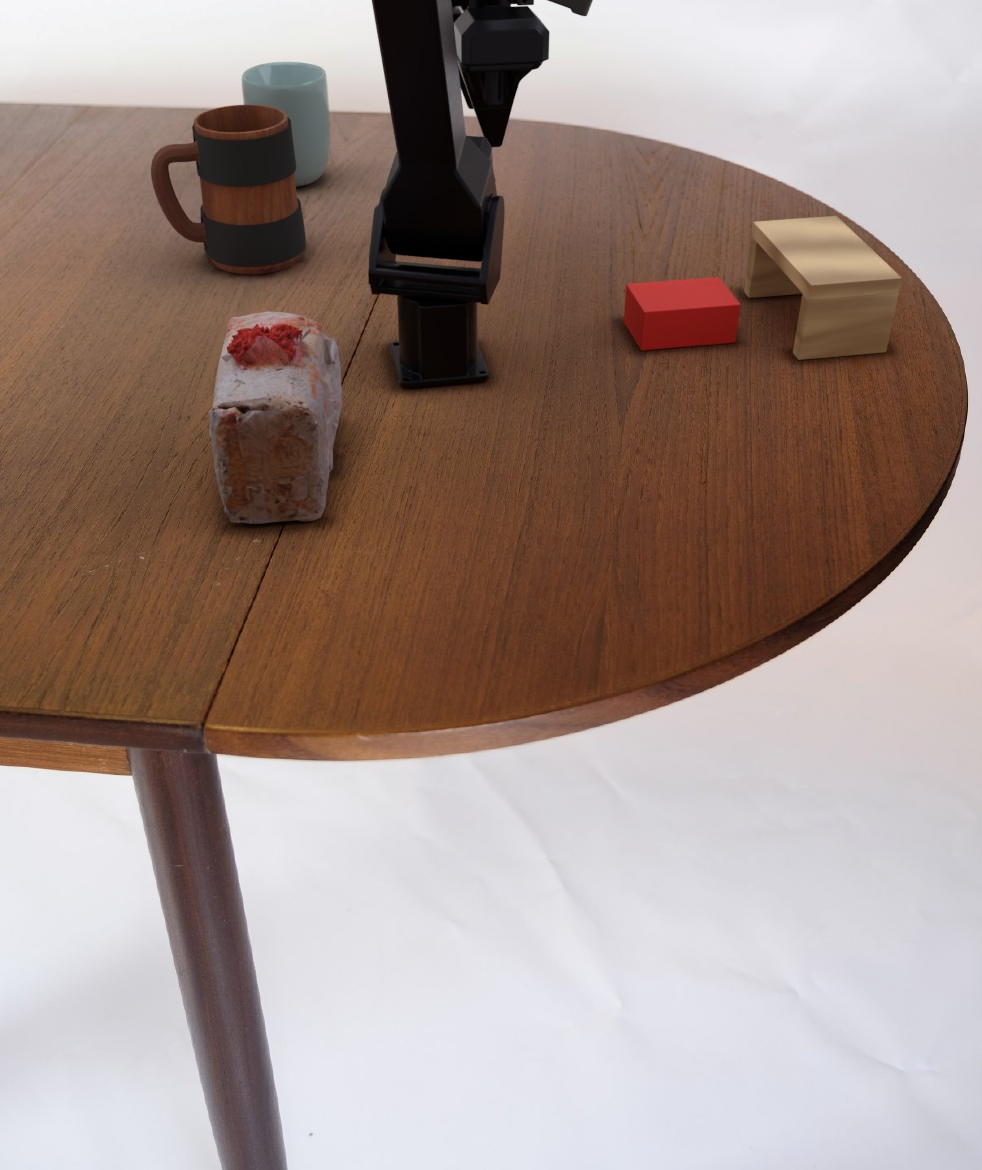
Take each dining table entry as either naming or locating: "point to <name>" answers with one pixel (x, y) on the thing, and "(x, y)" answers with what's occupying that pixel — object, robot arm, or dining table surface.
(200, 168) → the mug
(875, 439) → the dining table surface
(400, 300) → the robot arm
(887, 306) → the stand
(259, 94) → the cup
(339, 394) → the food item
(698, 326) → the block
